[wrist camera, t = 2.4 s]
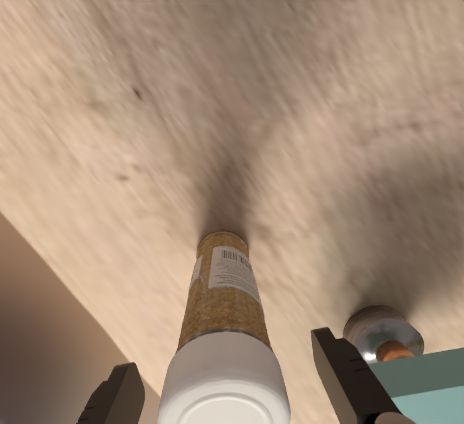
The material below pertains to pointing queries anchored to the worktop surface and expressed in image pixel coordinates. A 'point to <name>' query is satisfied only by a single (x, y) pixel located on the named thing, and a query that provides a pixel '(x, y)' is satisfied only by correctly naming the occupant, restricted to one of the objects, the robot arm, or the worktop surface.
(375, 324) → the grey peg
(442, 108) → the worktop surface
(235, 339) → the sprinkles bottle
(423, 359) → the collar
